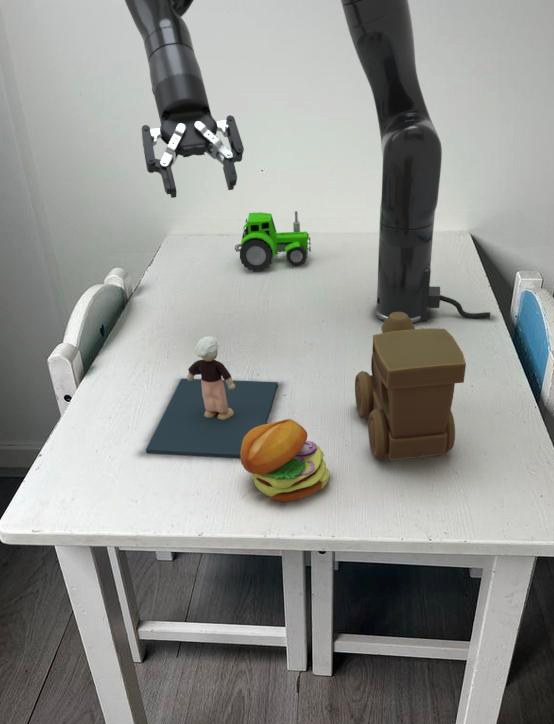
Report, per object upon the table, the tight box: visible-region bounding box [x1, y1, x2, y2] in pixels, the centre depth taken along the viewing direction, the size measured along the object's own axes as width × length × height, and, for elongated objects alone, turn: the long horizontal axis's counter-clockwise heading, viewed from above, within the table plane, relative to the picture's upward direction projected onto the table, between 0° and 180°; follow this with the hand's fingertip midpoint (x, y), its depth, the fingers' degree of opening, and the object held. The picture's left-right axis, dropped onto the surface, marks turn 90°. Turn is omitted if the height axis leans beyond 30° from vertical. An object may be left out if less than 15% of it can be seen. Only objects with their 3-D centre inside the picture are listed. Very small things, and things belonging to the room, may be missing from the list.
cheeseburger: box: [240, 418, 330, 503], centre depth 97 cm, size 10×11×10 cm
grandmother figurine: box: [186, 335, 235, 420], centre depth 108 cm, size 8×4×13 cm, turn 79°
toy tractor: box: [234, 210, 312, 273], centre depth 157 cm, size 11×16×10 cm
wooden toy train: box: [354, 312, 467, 461], centre depth 102 cm, size 20×11×17 cm, turn 6°
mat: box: [145, 378, 279, 459], centre depth 112 cm, size 16×20×1 cm
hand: (203, 191), depth 107 cm, fingers open, 8 cm apart
